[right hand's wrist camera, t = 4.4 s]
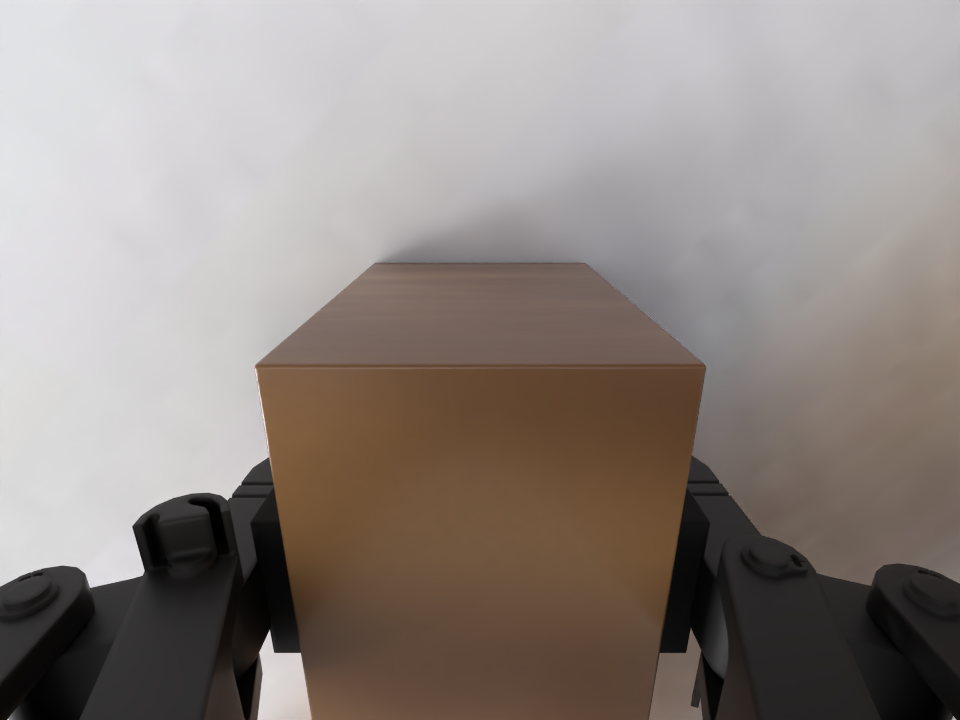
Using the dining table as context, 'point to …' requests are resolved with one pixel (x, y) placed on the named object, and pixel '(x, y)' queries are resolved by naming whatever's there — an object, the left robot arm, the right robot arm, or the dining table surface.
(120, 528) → the dining table surface
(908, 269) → the dining table surface
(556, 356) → the post
